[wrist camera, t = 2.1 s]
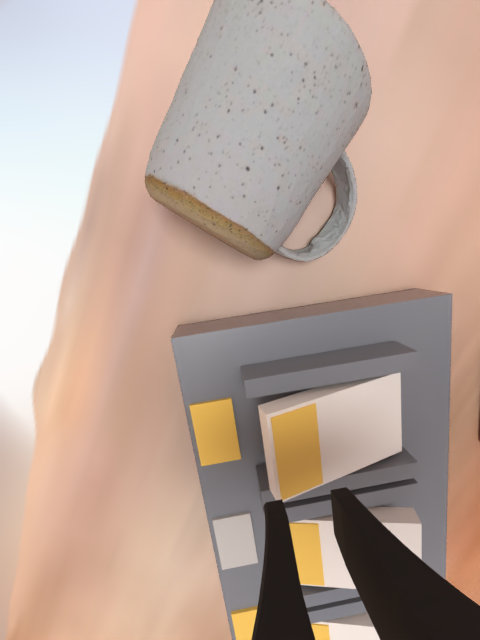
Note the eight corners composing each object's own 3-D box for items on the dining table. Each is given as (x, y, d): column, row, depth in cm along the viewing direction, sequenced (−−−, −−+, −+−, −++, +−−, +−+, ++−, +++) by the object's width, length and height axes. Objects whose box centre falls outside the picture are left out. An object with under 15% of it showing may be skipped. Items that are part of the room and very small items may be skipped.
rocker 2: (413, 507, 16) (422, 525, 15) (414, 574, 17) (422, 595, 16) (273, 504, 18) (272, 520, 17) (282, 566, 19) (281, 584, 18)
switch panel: (415, 288, 19) (484, 298, 14) (417, 600, 25) (465, 682, 20) (178, 325, 18) (163, 349, 13) (239, 638, 24) (245, 733, 19)
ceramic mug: (151, 205, 17) (102, 165, 9) (216, 67, 15) (221, -112, 8) (301, 291, 19) (361, 314, 11) (369, 174, 17) (488, 112, 10)
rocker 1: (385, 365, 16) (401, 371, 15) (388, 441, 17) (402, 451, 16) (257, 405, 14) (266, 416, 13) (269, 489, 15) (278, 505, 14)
